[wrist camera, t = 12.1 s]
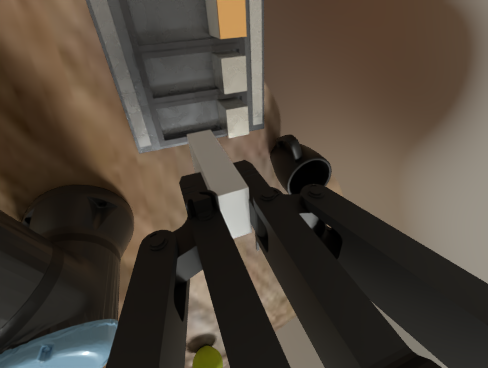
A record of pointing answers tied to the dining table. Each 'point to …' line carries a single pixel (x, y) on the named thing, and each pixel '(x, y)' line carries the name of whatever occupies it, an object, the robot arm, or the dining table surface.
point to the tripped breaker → (226, 18)
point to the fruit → (207, 358)
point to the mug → (298, 165)
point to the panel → (181, 69)
